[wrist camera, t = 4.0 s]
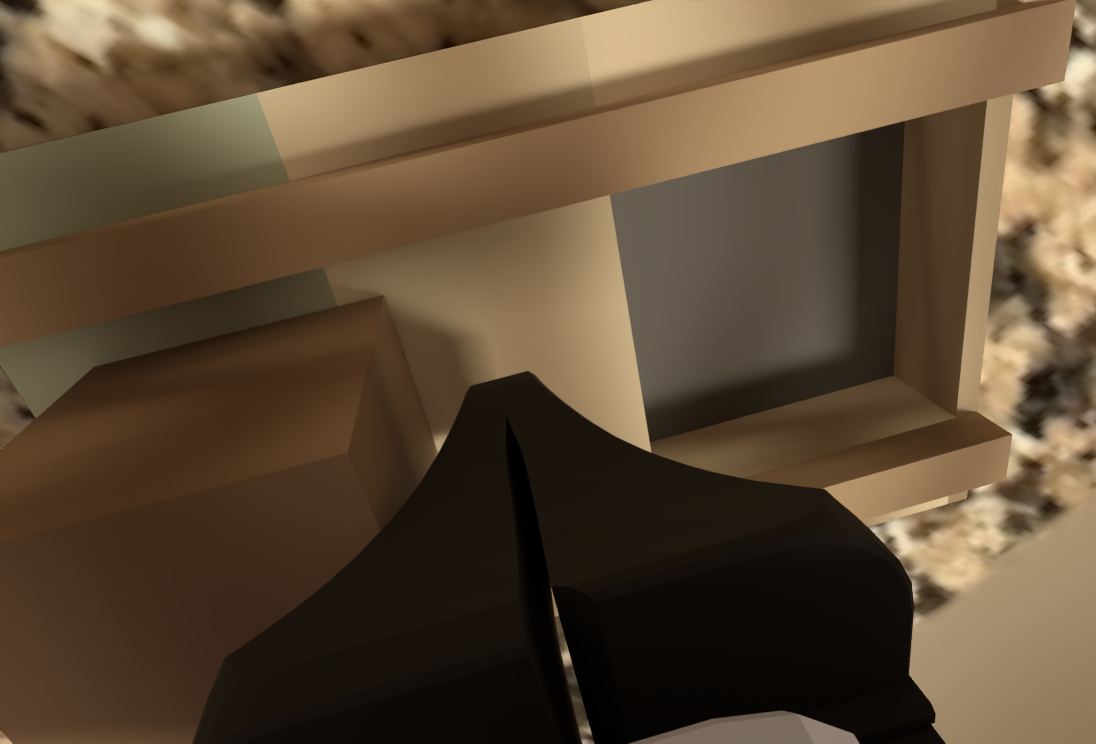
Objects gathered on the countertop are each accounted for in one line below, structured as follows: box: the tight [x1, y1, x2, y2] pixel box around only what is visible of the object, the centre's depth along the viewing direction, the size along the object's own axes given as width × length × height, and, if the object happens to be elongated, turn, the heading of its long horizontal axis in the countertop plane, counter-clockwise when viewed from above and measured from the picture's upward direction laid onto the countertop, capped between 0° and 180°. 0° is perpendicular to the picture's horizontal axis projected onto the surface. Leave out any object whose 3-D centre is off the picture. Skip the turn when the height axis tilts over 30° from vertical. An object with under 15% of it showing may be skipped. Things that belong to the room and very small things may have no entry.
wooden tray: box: [0, 0, 1076, 617], centre depth 13 cm, size 18×12×4 cm, turn 103°
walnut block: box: [0, 295, 438, 744], centre depth 10 cm, size 5×5×5 cm
